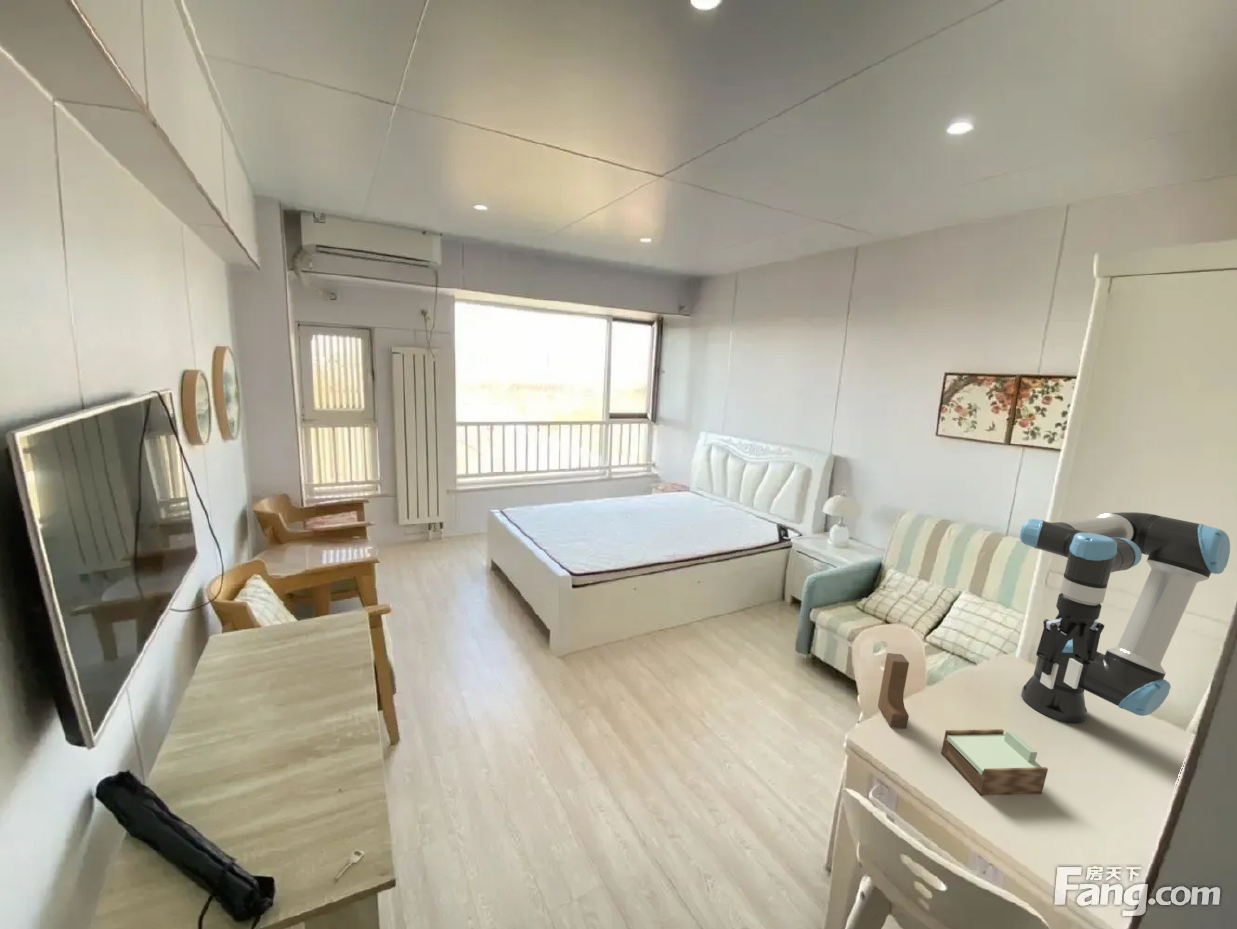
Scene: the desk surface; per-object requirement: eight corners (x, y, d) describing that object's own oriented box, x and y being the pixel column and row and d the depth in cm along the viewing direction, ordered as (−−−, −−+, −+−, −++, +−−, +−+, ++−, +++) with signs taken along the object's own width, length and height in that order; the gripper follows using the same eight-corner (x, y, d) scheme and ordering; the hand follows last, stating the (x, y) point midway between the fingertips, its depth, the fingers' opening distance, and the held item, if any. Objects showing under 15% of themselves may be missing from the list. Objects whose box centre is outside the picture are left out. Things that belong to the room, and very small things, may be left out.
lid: (1003, 738, 130) (1006, 725, 129) (1043, 773, 119) (1046, 759, 118) (946, 739, 128) (949, 725, 128) (981, 774, 117) (984, 760, 117)
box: (997, 752, 132) (1002, 729, 130) (1041, 793, 119) (1048, 769, 118) (941, 753, 130) (945, 730, 129) (980, 795, 118) (985, 770, 116)
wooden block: (906, 729, 138) (917, 672, 135) (890, 727, 139) (900, 670, 135) (892, 708, 147) (902, 653, 144) (877, 706, 148) (886, 652, 144)
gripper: (1099, 591, 121) (1077, 675, 125) (1029, 590, 119) (1009, 676, 124) (1133, 606, 113) (1108, 695, 118) (1059, 605, 112) (1037, 695, 116)
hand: (1058, 685), depth 121 cm, fingers open, 6 cm apart
